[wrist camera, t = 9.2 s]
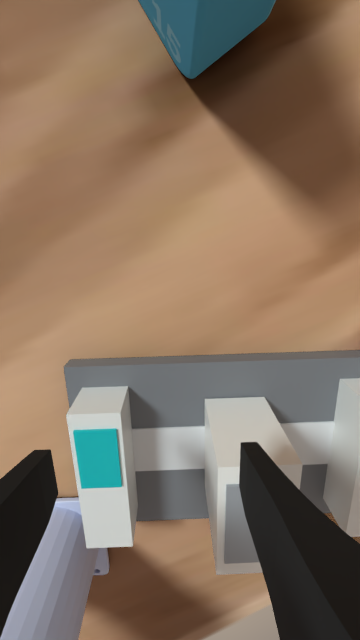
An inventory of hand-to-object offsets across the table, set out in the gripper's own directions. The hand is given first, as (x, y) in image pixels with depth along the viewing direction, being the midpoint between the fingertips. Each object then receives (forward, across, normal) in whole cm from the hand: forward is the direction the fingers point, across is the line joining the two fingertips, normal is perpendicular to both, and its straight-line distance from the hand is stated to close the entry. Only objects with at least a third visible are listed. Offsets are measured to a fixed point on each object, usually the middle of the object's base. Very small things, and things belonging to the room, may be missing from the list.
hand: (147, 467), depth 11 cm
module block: (+8, -5, +6) cm, 11 cm away
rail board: (+9, -5, +6) cm, 12 cm away
